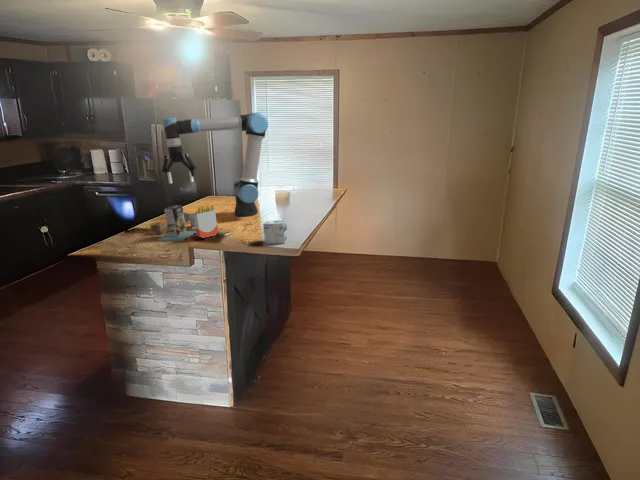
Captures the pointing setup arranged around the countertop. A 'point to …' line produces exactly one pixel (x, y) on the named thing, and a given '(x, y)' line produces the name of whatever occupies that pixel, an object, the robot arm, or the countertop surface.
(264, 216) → the countertop surface
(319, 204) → the countertop surface
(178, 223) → the coffee box
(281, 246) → the countertop surface
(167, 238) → the pad
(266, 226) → the light bulb box
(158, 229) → the walnut block
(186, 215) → the charcoal box
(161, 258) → the countertop surface
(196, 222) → the french fries container
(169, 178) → the robot arm
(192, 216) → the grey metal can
